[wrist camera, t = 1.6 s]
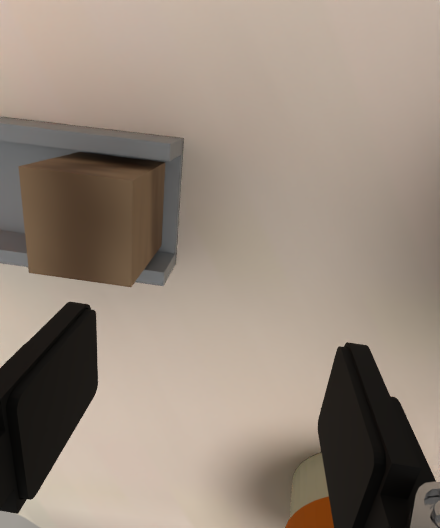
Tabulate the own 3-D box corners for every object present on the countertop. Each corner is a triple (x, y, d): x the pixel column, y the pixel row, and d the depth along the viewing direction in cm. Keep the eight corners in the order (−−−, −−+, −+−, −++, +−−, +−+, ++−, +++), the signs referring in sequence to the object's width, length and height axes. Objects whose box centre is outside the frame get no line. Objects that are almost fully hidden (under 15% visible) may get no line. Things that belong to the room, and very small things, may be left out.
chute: (183, 138, 26) (170, 143, 22) (176, 263, 29) (163, 286, 26) (-70, 108, 27) (-122, 108, 23) (-48, 232, 30) (-90, 250, 27)
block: (165, 162, 26) (132, 180, 19) (161, 245, 28) (131, 287, 22) (78, 151, 26) (18, 166, 20) (82, 235, 28) (28, 272, 22)
